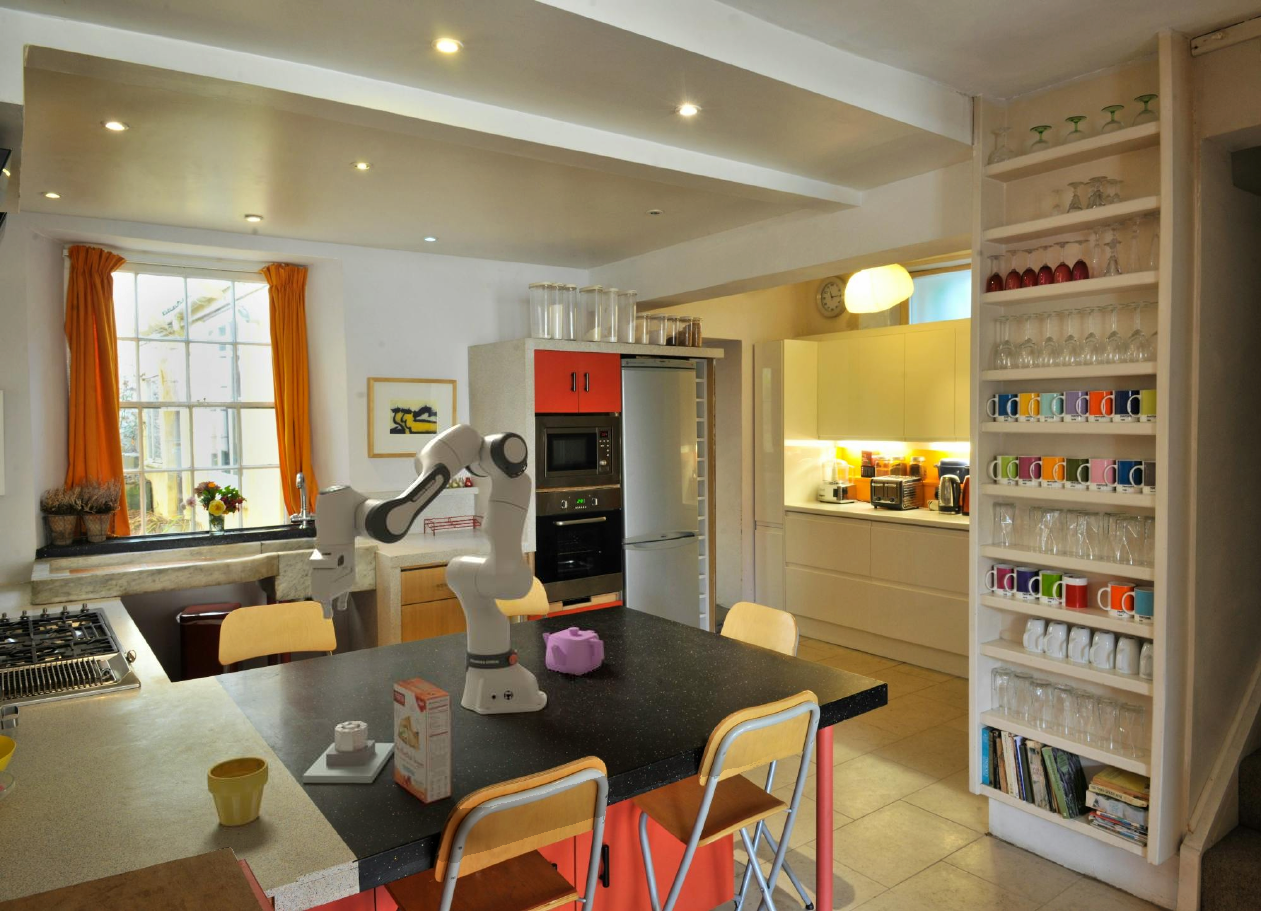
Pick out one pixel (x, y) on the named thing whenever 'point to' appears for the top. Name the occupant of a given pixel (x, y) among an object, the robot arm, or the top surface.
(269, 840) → the top surface
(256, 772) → the plant pot
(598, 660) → the teakettle
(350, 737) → the ring
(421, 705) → the cracker box
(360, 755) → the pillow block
